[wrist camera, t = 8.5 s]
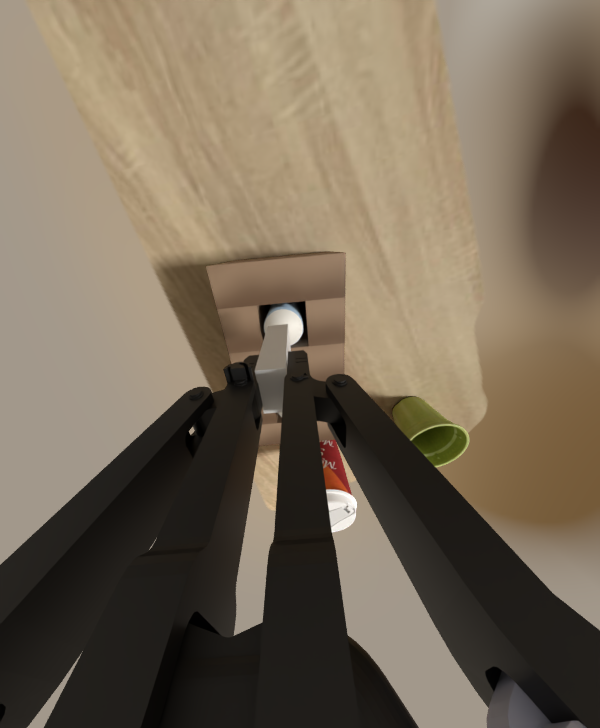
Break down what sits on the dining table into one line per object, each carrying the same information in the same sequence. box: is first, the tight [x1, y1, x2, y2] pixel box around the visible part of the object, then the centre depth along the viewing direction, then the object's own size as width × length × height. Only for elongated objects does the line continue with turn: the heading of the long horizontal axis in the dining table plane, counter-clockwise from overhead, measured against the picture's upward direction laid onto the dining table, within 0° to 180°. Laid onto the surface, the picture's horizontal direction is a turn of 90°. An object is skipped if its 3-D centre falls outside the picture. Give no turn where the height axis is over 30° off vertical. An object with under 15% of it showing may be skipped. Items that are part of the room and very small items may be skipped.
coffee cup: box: [320, 440, 357, 532], centre depth 35 cm, size 8×8×15 cm
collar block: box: [206, 252, 346, 446], centre depth 28 cm, size 22×12×10 cm, turn 5°
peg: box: [264, 302, 303, 346], centre depth 25 cm, size 4×4×10 cm
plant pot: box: [392, 397, 469, 467], centre depth 36 cm, size 9×9×9 cm
